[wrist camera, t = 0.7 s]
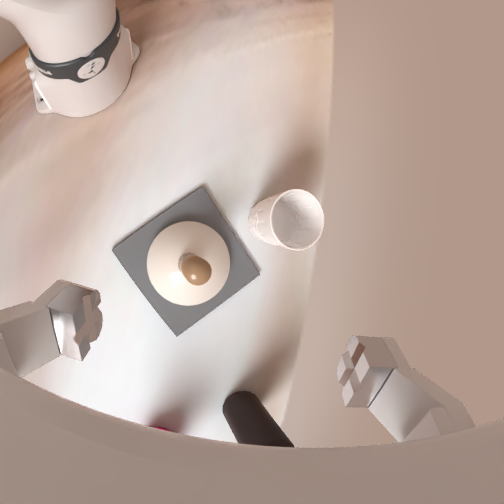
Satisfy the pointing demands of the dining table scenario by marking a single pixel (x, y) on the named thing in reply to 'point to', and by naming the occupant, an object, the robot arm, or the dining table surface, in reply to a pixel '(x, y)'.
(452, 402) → the robot arm
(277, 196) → the white cup
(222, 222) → the slate mat
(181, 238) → the lid
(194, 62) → the dining table surface
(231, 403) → the bottle
